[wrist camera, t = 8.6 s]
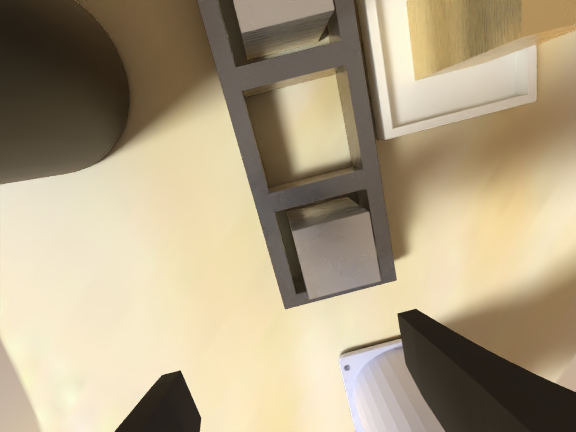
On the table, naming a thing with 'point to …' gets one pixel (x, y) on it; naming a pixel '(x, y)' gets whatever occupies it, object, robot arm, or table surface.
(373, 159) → the rail
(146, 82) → the table surface
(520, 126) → the table surface
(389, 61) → the parts tray
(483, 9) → the wooden block
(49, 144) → the mug
